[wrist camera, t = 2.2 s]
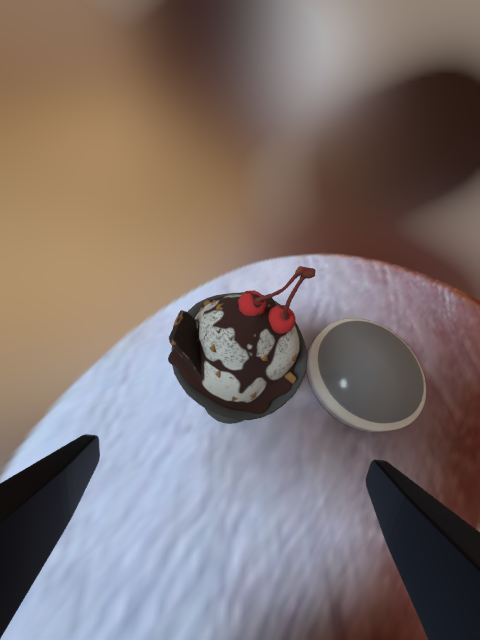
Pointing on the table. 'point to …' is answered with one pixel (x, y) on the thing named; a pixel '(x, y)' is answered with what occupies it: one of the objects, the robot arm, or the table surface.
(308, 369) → the round mirror
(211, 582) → the table surface
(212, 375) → the sundae
